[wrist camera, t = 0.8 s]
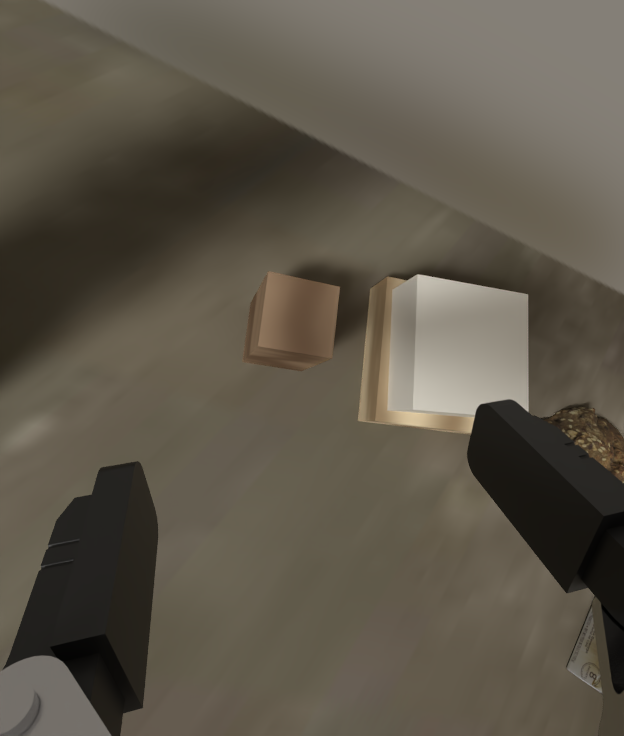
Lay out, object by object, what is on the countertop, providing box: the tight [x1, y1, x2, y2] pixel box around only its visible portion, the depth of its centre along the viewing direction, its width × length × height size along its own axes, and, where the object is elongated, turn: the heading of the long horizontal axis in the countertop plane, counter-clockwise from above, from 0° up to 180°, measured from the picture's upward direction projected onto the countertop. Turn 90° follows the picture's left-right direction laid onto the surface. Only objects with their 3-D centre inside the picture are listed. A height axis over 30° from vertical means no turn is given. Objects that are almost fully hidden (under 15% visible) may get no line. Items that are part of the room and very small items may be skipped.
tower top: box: [387, 274, 528, 418], centre depth 34 cm, size 10×10×4 cm
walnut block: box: [242, 271, 340, 371], centre depth 32 cm, size 5×5×8 cm
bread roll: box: [544, 407, 624, 483], centre depth 41 cm, size 13×12×5 cm
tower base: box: [358, 276, 474, 435], centre depth 38 cm, size 12×12×4 cm
